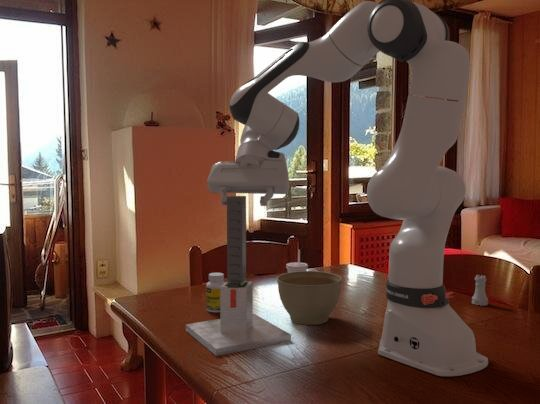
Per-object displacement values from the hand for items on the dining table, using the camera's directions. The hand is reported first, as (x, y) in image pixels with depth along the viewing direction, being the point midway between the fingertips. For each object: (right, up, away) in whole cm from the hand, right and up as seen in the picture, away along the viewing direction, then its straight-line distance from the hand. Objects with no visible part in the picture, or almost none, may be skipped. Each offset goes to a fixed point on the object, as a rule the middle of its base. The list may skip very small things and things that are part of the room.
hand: (243, 204), depth 122 cm
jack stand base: (-1, -30, -4) cm, 30 cm away
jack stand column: (-1, -22, -5) cm, 23 cm away
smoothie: (+14, -28, +29) cm, 43 cm away
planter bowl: (+16, -29, +7) cm, 34 cm away
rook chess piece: (+65, -28, +22) cm, 74 cm away
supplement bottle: (-8, -29, +16) cm, 34 cm away
